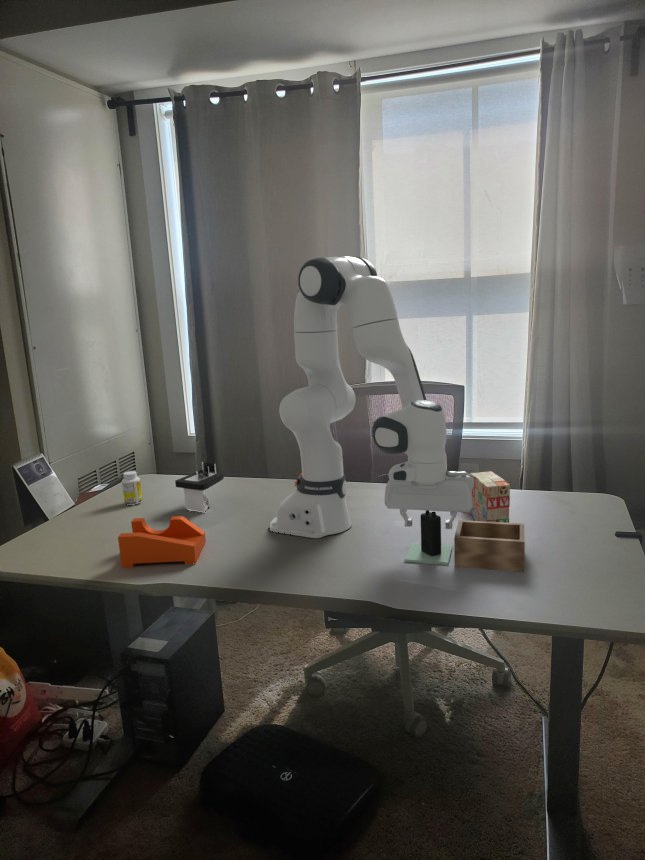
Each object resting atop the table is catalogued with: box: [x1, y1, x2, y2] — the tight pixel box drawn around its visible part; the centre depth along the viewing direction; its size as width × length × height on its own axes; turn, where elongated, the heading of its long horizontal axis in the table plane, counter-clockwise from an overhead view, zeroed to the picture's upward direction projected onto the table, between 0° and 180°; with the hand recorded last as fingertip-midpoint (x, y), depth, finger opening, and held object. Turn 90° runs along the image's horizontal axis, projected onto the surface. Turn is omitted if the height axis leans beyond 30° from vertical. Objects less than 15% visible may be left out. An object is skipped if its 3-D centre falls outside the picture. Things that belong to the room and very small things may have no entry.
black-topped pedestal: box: [174, 461, 225, 513], centre depth 188 cm, size 28×26×13 cm
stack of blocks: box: [467, 471, 511, 523], centre depth 168 cm, size 21×6×12 cm, turn 6°
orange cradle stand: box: [117, 515, 207, 569], centre depth 154 cm, size 18×13×8 cm
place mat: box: [404, 542, 453, 566], centre depth 147 cm, size 10×10×1 cm
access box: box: [453, 519, 526, 573], centre depth 142 cm, size 15×11×7 cm
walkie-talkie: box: [420, 510, 442, 556], centre depth 145 cm, size 5×3×15 cm
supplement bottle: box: [121, 470, 143, 506], centre depth 196 cm, size 6×6×10 cm
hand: (428, 527), depth 145 cm, fingers open, 8 cm apart
